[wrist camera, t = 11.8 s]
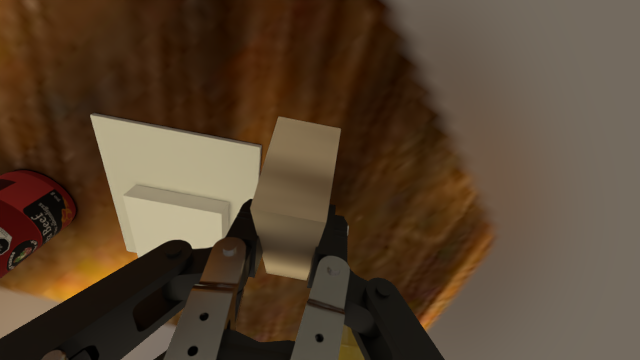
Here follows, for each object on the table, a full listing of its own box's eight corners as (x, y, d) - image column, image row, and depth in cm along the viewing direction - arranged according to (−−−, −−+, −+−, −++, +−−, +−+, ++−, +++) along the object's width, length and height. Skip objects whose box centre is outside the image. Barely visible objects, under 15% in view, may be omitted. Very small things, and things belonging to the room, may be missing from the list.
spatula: (222, 105, 11) (180, 195, 9) (397, 139, 11) (394, 235, 9) (257, 239, 26) (244, 285, 24) (333, 253, 26) (327, 300, 24)
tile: (122, 195, 28) (138, 257, 33) (221, 213, 29) (222, 273, 33) (135, 184, 30) (148, 244, 35) (228, 201, 30) (229, 259, 35)
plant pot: (309, 335, 43) (299, 414, 35) (303, 290, 38) (290, 371, 29) (378, 339, 42) (385, 421, 34) (383, 294, 37) (393, 378, 28)
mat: (94, 113, 27) (90, 114, 26) (261, 145, 27) (260, 147, 27) (129, 248, 36) (127, 251, 36) (253, 271, 37) (252, 274, 36)
